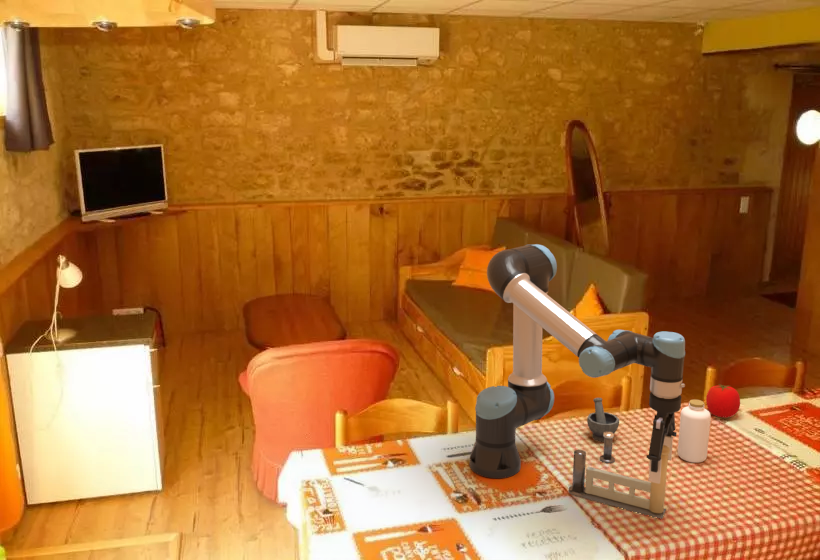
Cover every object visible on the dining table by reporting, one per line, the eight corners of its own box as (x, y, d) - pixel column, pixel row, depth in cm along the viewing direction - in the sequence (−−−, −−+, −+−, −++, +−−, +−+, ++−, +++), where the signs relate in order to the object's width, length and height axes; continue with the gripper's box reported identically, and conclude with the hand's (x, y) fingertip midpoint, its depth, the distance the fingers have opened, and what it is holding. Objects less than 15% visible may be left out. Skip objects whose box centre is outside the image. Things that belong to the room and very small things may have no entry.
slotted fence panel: (583, 494, 195) (586, 435, 191) (588, 487, 198) (591, 429, 194) (662, 516, 184) (668, 453, 180) (666, 508, 188) (671, 446, 184)
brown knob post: (565, 493, 197) (567, 454, 194) (571, 485, 201) (573, 446, 198) (584, 498, 194) (586, 458, 192) (590, 490, 199) (592, 450, 196)
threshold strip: (571, 495, 196) (571, 493, 196) (577, 486, 201) (577, 485, 200) (661, 519, 184) (661, 518, 184) (666, 510, 189) (666, 509, 188)
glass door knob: (597, 461, 214) (599, 435, 212) (602, 455, 218) (603, 429, 216) (612, 464, 212) (614, 438, 210) (616, 458, 216) (618, 432, 214)
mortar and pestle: (622, 443, 225) (624, 408, 222) (594, 446, 224) (596, 410, 221) (608, 428, 236) (610, 394, 233) (580, 430, 235) (582, 396, 232)
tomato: (744, 422, 239) (747, 392, 236) (712, 422, 239) (715, 392, 237) (730, 408, 249) (733, 380, 247) (700, 409, 249) (703, 380, 247)
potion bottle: (676, 461, 214) (681, 405, 209) (677, 448, 221) (682, 395, 217) (706, 466, 211) (712, 409, 206) (706, 453, 218) (711, 398, 214)
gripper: (670, 414, 167) (664, 496, 172) (690, 379, 188) (684, 453, 193) (638, 408, 171) (633, 488, 176) (661, 374, 191) (656, 447, 196)
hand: (660, 470), depth 184 cm, fingers open, 13 cm apart
